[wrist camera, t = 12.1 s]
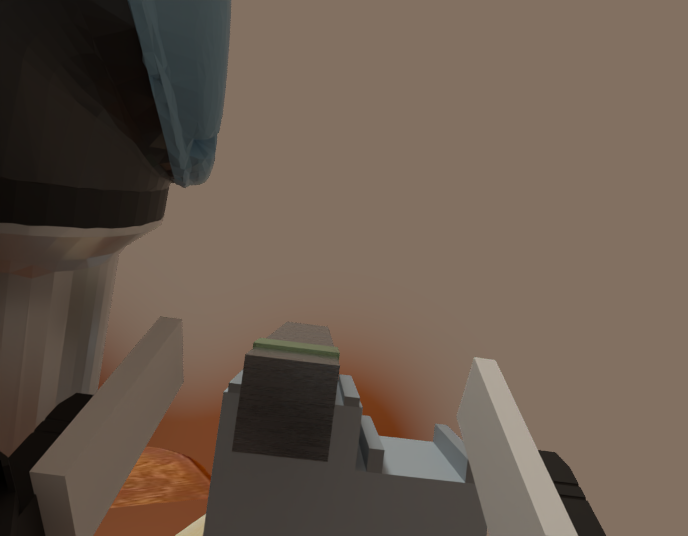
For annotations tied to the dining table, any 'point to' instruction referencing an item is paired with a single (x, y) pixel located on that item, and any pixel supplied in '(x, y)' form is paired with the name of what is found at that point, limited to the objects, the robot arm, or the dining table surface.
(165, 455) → the dining table surface
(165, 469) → the dining table surface
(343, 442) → the stand
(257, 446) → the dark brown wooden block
